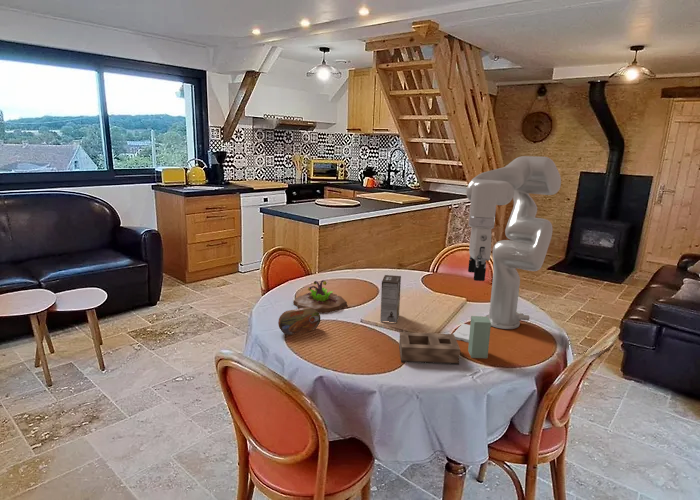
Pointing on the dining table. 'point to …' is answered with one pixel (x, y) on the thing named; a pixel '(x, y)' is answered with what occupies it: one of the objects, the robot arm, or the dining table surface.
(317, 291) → the plant
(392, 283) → the coffee box
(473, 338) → the square peg
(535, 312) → the dining table surface
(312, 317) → the tin
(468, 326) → the external hard drive
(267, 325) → the dining table surface
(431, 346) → the socket block
